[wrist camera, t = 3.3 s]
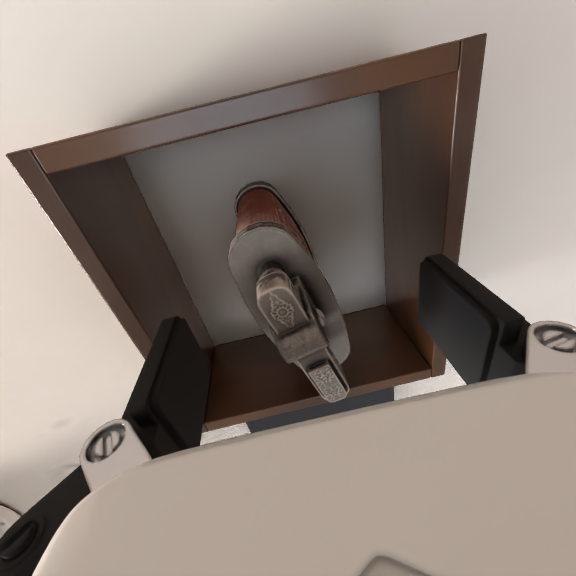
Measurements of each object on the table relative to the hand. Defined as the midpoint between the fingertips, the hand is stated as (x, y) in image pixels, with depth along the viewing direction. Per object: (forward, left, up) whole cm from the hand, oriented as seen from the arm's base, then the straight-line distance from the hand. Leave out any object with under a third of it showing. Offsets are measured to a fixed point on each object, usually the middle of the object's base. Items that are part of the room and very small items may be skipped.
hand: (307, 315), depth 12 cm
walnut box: (0, 0, -8) cm, 8 cm away
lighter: (0, 0, -8) cm, 8 cm away
